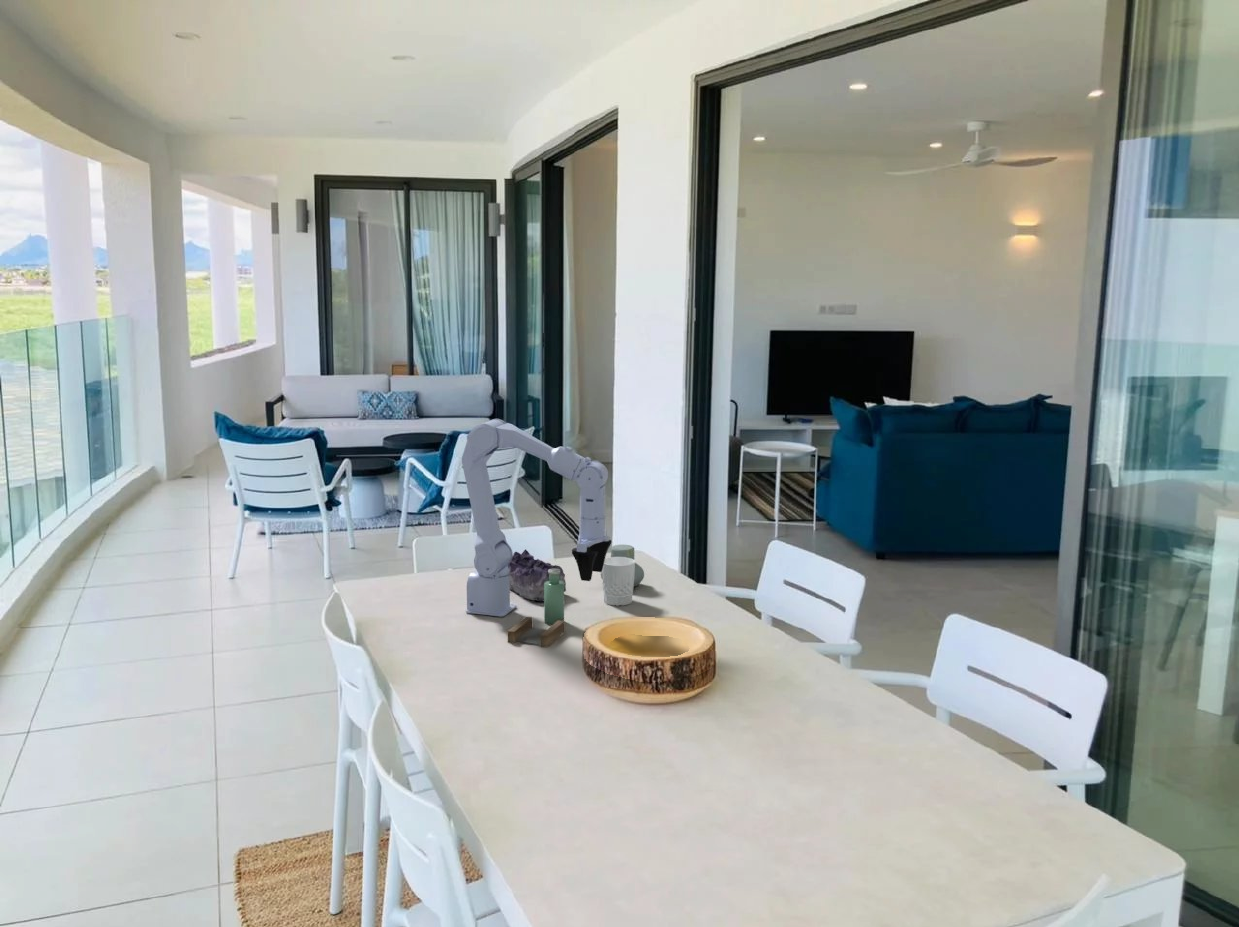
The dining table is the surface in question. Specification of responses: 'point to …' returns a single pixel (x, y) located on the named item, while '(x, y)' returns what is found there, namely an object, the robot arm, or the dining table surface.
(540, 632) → the cradle
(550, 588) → the bottle
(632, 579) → the white cup
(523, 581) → the geode
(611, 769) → the dining table surface
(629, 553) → the air freshener
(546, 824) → the dining table surface
